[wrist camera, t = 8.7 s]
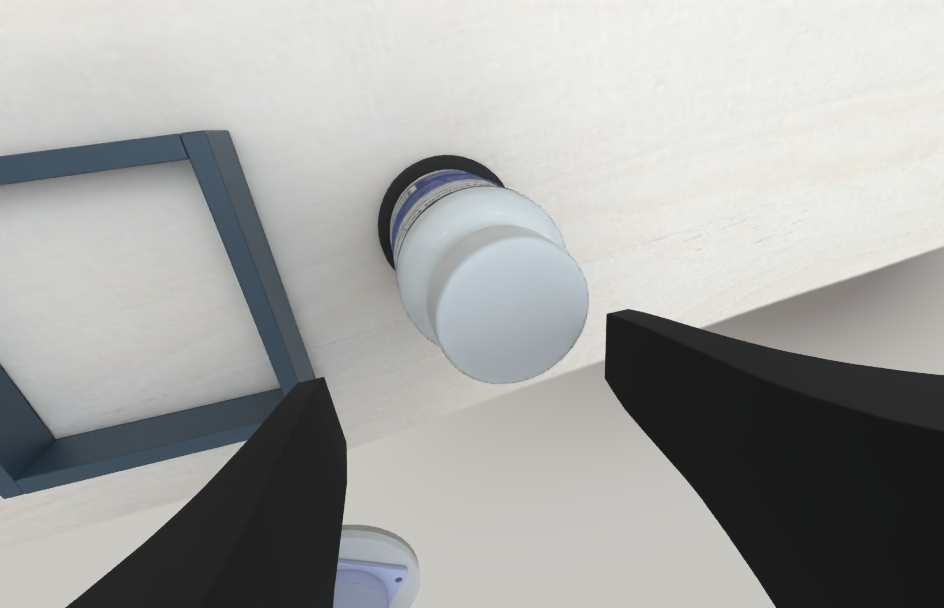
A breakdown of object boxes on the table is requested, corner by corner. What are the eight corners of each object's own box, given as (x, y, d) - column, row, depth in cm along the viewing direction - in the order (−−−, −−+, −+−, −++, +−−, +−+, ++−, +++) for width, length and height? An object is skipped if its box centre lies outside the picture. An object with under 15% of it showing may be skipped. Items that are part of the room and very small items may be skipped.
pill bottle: (517, 257, 20) (631, 358, 11) (417, 300, 20) (453, 437, 11) (483, 148, 17) (594, 167, 9) (368, 194, 17) (364, 262, 8)
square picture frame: (320, 392, 21) (314, 424, 18) (46, 456, 19) (2, 500, 17) (228, 130, 15) (204, 130, 13) (-168, 181, 13) (-275, 191, 11)
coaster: (475, 308, 21) (477, 311, 20) (356, 260, 18) (356, 263, 18) (536, 195, 19) (539, 196, 19) (414, 126, 17) (415, 126, 16)
